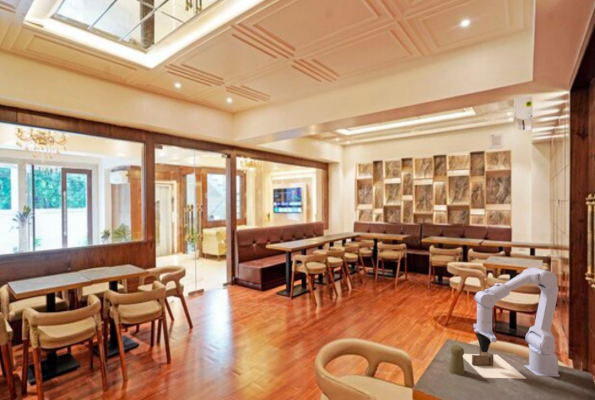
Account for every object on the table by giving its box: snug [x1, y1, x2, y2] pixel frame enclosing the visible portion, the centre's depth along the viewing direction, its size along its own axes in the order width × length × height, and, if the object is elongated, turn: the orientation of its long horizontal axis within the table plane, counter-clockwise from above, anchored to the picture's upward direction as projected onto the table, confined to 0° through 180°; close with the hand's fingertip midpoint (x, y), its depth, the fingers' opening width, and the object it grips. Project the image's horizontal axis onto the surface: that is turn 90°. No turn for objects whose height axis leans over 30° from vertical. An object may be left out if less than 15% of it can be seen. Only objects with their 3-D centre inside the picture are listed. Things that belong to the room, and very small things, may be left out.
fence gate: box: [472, 355, 489, 366], centre depth 137 cm, size 1×7×4 cm, turn 90°
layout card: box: [463, 353, 527, 380], centre depth 137 cm, size 18×20×1 cm
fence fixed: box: [478, 346, 494, 366], centre depth 141 cm, size 2×9×4 cm, turn 179°
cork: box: [448, 344, 466, 376], centre depth 132 cm, size 6×6×11 cm
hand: (484, 351), depth 134 cm, fingers closed
